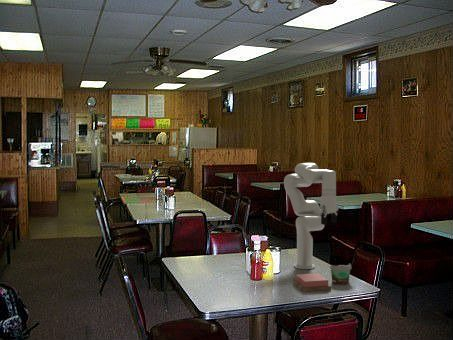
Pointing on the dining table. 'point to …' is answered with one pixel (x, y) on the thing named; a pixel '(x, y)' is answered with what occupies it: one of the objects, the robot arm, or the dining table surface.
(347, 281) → the food container
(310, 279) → the pink square slab
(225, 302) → the dining table surface
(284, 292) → the dining table surface
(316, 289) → the walnut slab
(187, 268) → the dining table surface
